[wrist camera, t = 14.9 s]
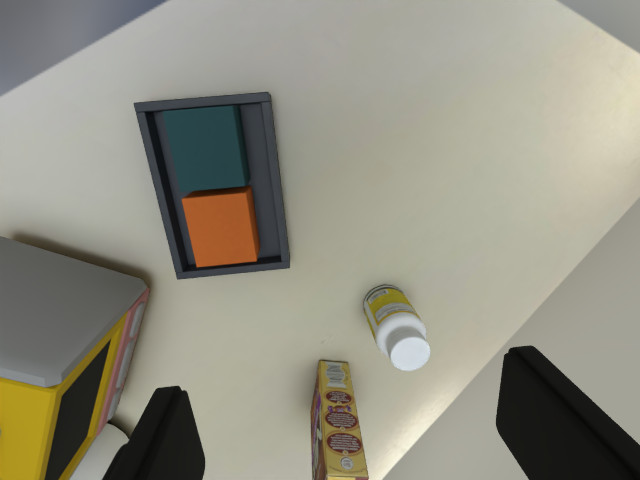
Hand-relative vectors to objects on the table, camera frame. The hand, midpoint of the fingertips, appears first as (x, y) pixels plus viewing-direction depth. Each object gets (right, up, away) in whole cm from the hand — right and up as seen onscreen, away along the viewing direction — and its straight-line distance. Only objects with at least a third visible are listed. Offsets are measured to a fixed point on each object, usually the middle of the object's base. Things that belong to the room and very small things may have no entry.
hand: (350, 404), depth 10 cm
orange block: (-11, +7, +26) cm, 29 cm away
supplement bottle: (+7, -3, +32) cm, 33 cm away
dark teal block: (-11, +14, +24) cm, 30 cm away
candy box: (0, -15, +35) cm, 39 cm away
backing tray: (-11, +10, +26) cm, 30 cm away
